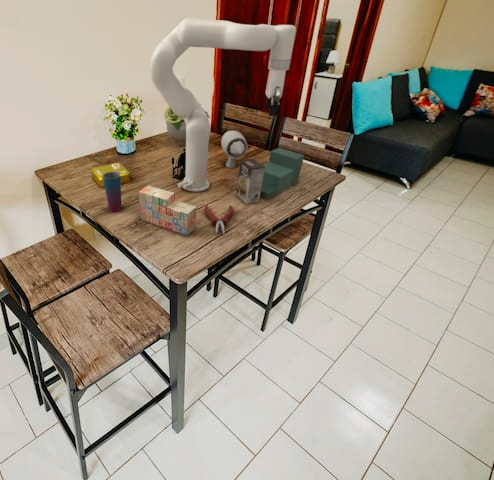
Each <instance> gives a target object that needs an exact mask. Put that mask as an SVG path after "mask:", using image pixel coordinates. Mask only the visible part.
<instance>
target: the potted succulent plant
mask: <svg viewBox="0 0 494 480" xmlns="http://www.w3.org/2000/svg"><path fill="white" fill-rule="evenodd" d="M199 104H200V105H201V106H202V104H201V103H200V102H199ZM203 110H204V111H205V113H206V114H207V117H208V119H209V118H211V117H210V115H209V114H208V113H209V112H208V111H206V110H205V109H204V108H203ZM163 116H164V117H163V118H164V120H165V121H166V123H165V124H166V131H167V134H168V136H169V137H170V138H171V139H172V140H174V141H176V143H177V144H178V145H180V146H186V123H185V122H184V120H183V119H182V118H181V117H178V116H177V115H175V114H174V113H173V111H172V109H171V108H170V107H169V106H168V107H167V108H166V109H165V112H164V114H163Z"/></svg>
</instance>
